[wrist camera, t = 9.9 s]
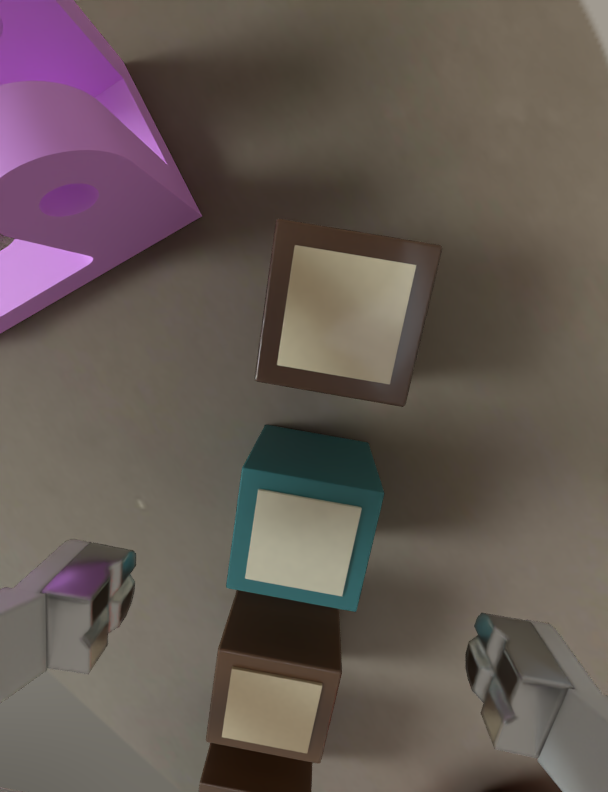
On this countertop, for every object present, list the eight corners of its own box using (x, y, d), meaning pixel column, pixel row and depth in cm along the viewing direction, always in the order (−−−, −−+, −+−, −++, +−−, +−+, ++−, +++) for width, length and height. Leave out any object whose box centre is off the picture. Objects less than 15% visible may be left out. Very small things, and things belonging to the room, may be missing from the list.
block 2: (228, 674, 19) (198, 786, 14) (314, 690, 18) (311, 808, 14) (219, 739, 20) (188, 862, 15) (300, 754, 19) (293, 883, 15)
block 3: (291, 246, 14) (275, 216, 9) (407, 265, 14) (445, 244, 9) (274, 361, 15) (253, 382, 10) (382, 379, 15) (406, 408, 10)
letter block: (265, 424, 15) (240, 468, 11) (368, 442, 15) (385, 494, 11) (251, 516, 16) (224, 590, 12) (348, 533, 16) (356, 615, 12)
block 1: (244, 564, 17) (216, 651, 13) (338, 581, 17) (342, 675, 13) (233, 640, 18) (204, 746, 14) (321, 657, 18) (320, 768, 14)
